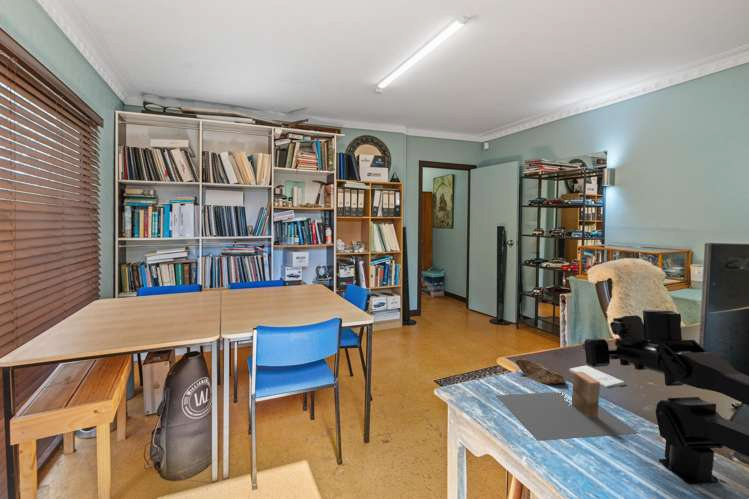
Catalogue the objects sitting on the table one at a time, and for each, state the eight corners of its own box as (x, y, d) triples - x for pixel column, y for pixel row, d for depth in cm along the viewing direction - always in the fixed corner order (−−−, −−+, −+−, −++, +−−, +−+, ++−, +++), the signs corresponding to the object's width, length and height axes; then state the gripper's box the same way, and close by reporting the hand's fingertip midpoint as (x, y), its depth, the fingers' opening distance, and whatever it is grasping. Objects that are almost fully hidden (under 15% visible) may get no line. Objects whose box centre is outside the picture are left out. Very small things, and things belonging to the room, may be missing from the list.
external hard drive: (586, 369, 118) (624, 386, 106) (568, 373, 115) (606, 390, 103) (586, 365, 118) (625, 381, 106) (569, 368, 115) (606, 385, 103)
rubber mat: (639, 434, 81) (639, 433, 81) (537, 442, 78) (537, 440, 78) (578, 392, 101) (578, 390, 101) (495, 396, 98) (495, 395, 98)
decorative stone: (528, 351, 119) (574, 372, 107) (525, 363, 119) (571, 385, 108) (511, 357, 113) (558, 380, 101) (509, 370, 114) (556, 394, 102)
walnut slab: (597, 417, 88) (599, 382, 87) (588, 417, 87) (590, 382, 86) (580, 404, 93) (582, 371, 93) (571, 405, 93) (573, 372, 92)
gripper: (685, 317, 79) (628, 311, 95) (607, 321, 77) (563, 315, 93) (691, 368, 78) (633, 354, 94) (612, 374, 76) (566, 358, 92)
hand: (599, 344), depth 93 cm, fingers open, 9 cm apart
